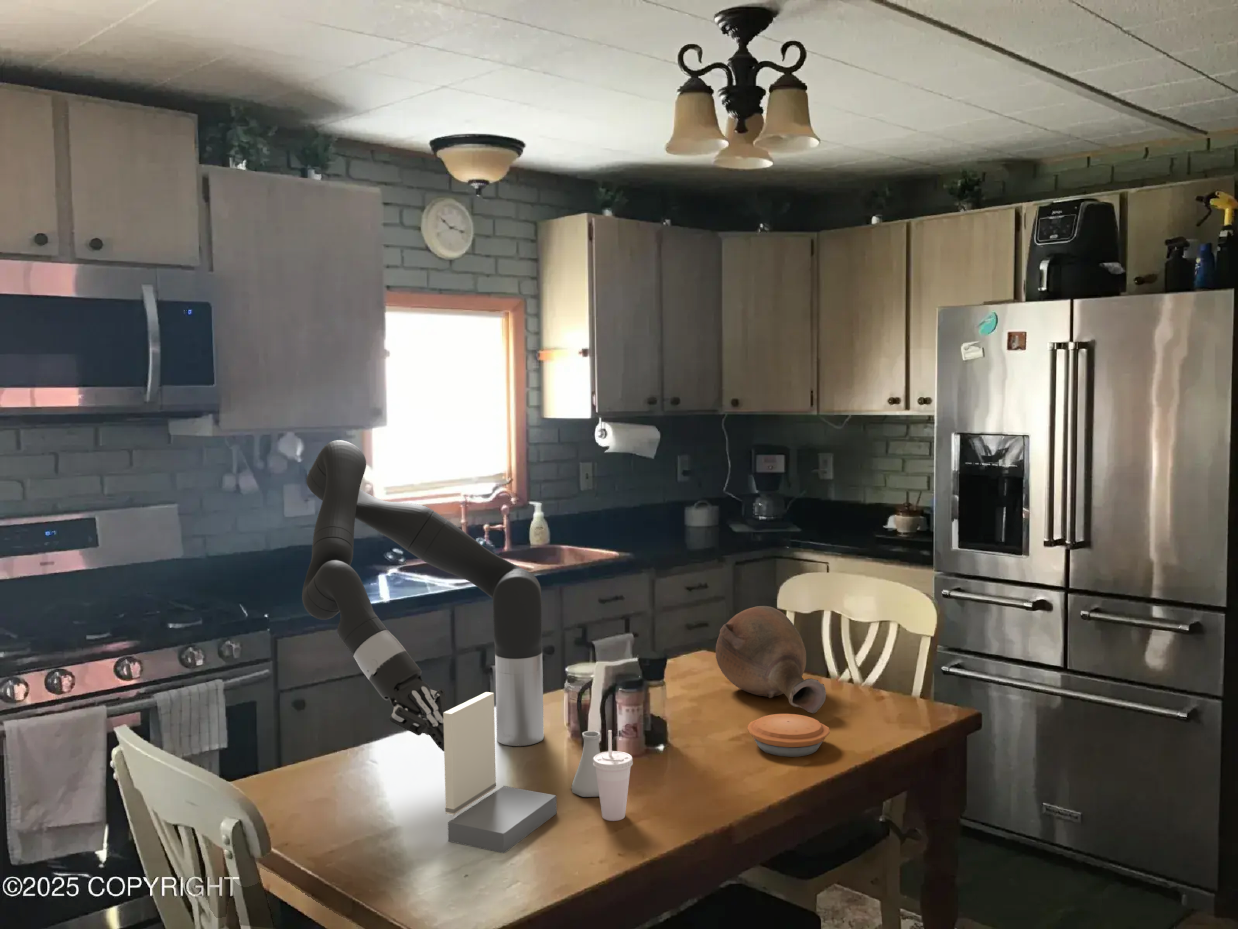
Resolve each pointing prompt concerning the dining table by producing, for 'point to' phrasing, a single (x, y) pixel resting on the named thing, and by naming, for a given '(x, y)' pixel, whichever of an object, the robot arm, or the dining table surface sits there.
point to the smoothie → (613, 781)
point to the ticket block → (502, 819)
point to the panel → (469, 752)
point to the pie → (788, 734)
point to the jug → (767, 657)
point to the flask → (587, 767)
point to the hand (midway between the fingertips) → (450, 747)
